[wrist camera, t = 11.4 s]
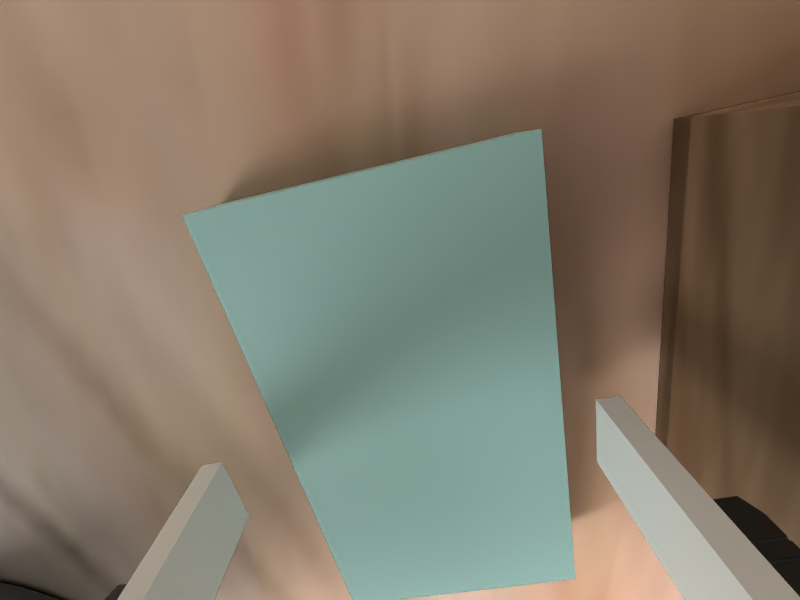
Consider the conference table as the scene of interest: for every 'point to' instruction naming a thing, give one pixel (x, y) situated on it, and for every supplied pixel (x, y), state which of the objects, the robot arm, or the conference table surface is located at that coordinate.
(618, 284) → the conference table surface
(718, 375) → the box
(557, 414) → the lid
